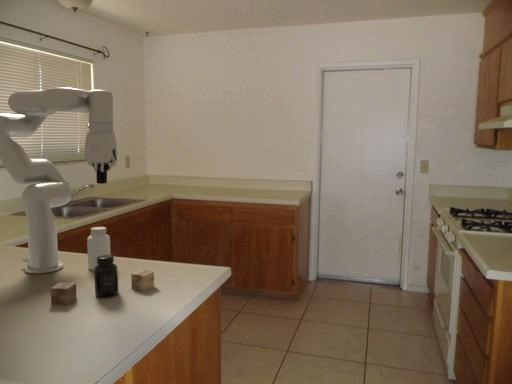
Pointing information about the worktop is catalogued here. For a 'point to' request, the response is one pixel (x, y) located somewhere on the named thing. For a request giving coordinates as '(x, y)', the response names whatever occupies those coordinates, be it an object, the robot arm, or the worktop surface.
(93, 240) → the pill bottle
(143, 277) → the maple block
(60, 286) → the walnut block
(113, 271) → the supplement bottle
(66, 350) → the worktop surface
